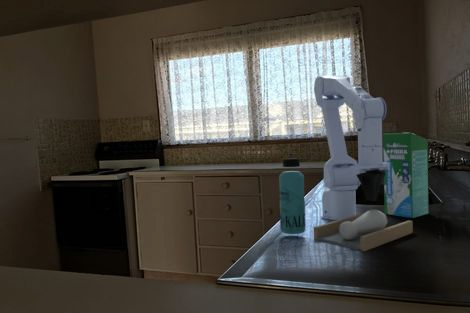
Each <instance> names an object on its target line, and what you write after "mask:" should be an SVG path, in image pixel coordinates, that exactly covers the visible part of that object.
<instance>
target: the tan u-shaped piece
mask: <svg viewBox="0 0 470 313" xmlns="http://www.w3.org/2000/svg"><path fill="white" fill-rule="evenodd" d="M363 214H364V213H360V214H356V216H352V217H348V218H345V219H341V220H337V221H336V220H333V221H331V222H326V223H324V224H323V223H322V224H320V225H316V226H313V240H316V241H319V242H325V243H329V244H334V245H337V246H342V247H345V248H346V247H347V248H350V249H354V250H358V251H363V252H367V251H369V250H371V249H373V248H377V247H379V246H382V245H384V244H387V243H390V242H393V241H394V240H398V239H401V238H402V237H403V238H404V237H405V236H408V235H411V234H413V232H414V230H413V228H414V227H413V226H414V224H413V220H406V221H403V222H399V223H397V224H394V225H391V226H388V227H385V228H384V229H382V230H379V231H376V232H373V233H370V234H364V235H357V236H356V237H355V238H354V239H352V240H346V239H344V238H343V237H342V236H341V234H340V232H339V227H340V225H341V224H342V223H343V222H346V221H350V222H352V221H354V220H355V219H357V218H358V217H360V216H361V215H363Z"/></svg>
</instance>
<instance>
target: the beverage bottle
mask: <svg viewBox="0 0 470 313" xmlns="http://www.w3.org/2000/svg"><path fill="white" fill-rule="evenodd" d="M300 165H301V164H300V159H299V158H297V157H287V158H283V161H282V167H283V168H297V167H298V168H299V167H300ZM278 180H279V184H278V185H279V190H278V194H279V229H280V232H281V233H283V234H286V235H298V234H303V233H305V232H306V226H307V225H306V221H307V219H306V201H305V176H304V174H303V173H302V172H301V171H299V170H289V171H288V170H287V171H286V170H285V171H282V172H281V173H280V174H279V176H278Z"/></svg>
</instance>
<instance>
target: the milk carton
mask: <svg viewBox="0 0 470 313" xmlns="http://www.w3.org/2000/svg"><path fill="white" fill-rule="evenodd" d="M428 147H429V146H428V139H427V138H425V137H423V136H419V135H417V134H415V133H412V132H401V133H398V132H396V133H395V132H394V133H382V149H383V162H389V168H390V169H388V170H386V169H384V170H383V172H385V176H384V178H383V180H384V182H383V186H384V187H383V188H384V190H383V192H384V193H383V195H384V214H385V215H390V216H391V215H392V216H395V217H396V216H397V217H403V218H407V219H408V218H409V219H413V218H417V217H421V216H422V217H423V216H424V215H428V214H429V164H428V163H429V161H428V159H429V157H428V155H429V152H428Z"/></svg>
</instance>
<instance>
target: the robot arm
mask: <svg viewBox="0 0 470 313" xmlns="http://www.w3.org/2000/svg"><path fill="white" fill-rule="evenodd" d="M313 92H314V98H315V102H316V106H318V107H320V108H321V111H322V117H323V121H324V122H323V123H324V128H325V132H326V133H325V134H326V138H327V144H328V149H329V153H330V158H329V159H328V160H327V161H326V162H325V163H324V165H323V182H324V184H325V187H326V188H325V189H324V190H323V192H322V195H321V197H322V198H321V202H322V203H321V204H322V205H321V211H322V215H321V216H320V218H321V219H324V220H325V219H326V220H331V221H337V220H341V219H345V218H348V217H352V216H356V215H357V204H356V202H357V201H356V200H357V199H356V190H358V187H360V185H361V187H362V190H363V193H364V197H365V201H370V202H375V201H377V200H378V194H379V191H380V190H379V189H380V187H381V185H382V181H383V180H384V176H385V172H384V169H386V170H388V169H390V168H389V162H384V157H383V124H382V123H383V121H384V119H385V118H386V115H387V104H386V100H384V98H383V97H379V96H378V97H376V98H375V97H373V96H372V95H371V94H370V93H368V92H366V91H365V90H364V89H363V87H362V86H359V85H358V86H357V85H356V86H353V85H352V83H351V78H350V76H348V75H347V74H344V75H317V76H316V78H315V80H314V86H313ZM343 105H346V106H347V107H348V108H349V109H350V110H351V111H352V116H353V119H354V123H355V129H357V152H358V153H357V154H358V161H357V160H356V159H354V158H353V157H351V156H349V155H348V150H347V146H346V145H347V144H346V141H345V135H344V130H343V124H342V121H341V115H340V111H339V108H340V107H342V106H343Z"/></svg>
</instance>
